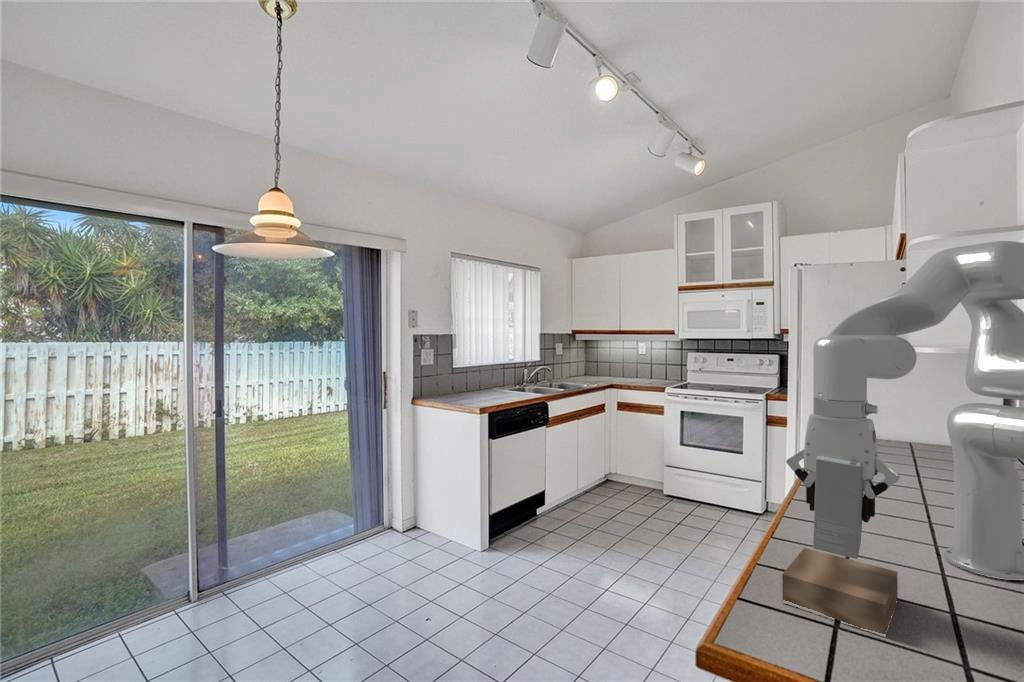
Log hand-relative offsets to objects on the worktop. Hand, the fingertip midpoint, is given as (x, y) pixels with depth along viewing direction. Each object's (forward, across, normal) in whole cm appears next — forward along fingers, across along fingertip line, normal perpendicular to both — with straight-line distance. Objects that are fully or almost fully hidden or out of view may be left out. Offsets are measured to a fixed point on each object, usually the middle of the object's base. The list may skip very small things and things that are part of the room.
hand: (839, 513), depth 83 cm
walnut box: (+15, 0, 0) cm, 15 cm away
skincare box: (+6, 0, 0) cm, 6 cm away
